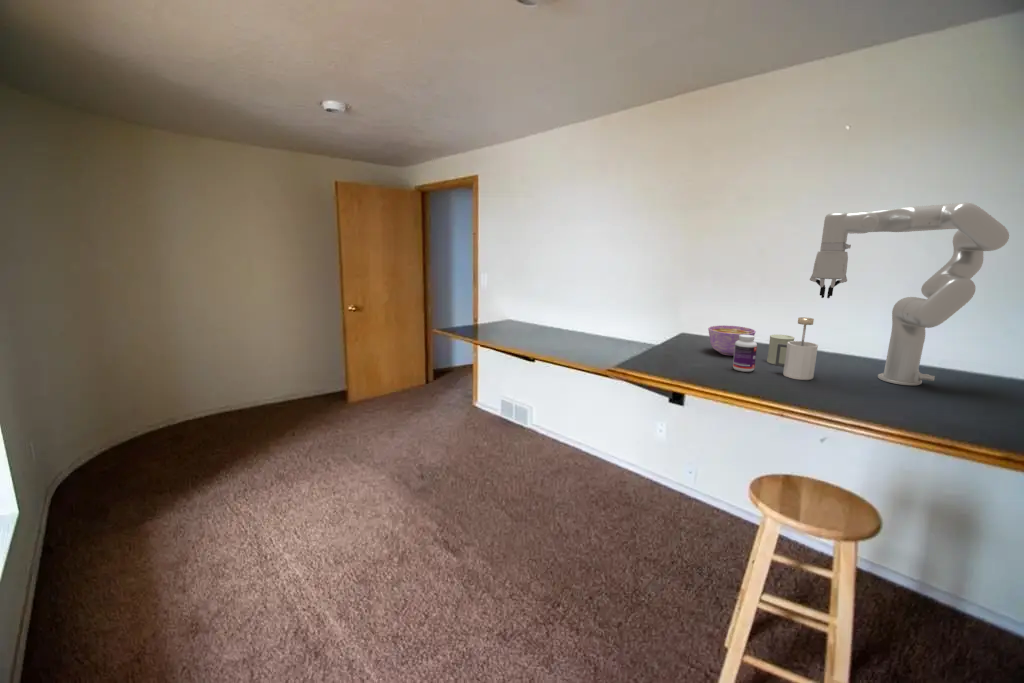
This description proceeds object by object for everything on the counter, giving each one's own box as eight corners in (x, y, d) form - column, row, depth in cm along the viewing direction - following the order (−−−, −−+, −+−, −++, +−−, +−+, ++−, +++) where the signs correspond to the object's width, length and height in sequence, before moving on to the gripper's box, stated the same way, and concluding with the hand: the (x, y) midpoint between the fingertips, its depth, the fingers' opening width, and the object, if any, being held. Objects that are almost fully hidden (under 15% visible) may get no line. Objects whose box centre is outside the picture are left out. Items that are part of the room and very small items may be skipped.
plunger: (813, 352, 174) (818, 318, 171) (811, 356, 169) (816, 320, 166) (791, 350, 178) (796, 316, 175) (789, 353, 173) (793, 318, 170)
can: (795, 365, 190) (799, 337, 188) (773, 365, 190) (777, 338, 188) (783, 359, 199) (786, 333, 197) (762, 359, 199) (765, 333, 197)
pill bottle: (755, 373, 180) (760, 338, 176) (733, 371, 182) (737, 337, 179) (752, 367, 187) (756, 334, 184) (731, 366, 190) (734, 333, 186)
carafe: (814, 375, 176) (819, 343, 174) (811, 381, 169) (816, 348, 166) (776, 369, 184) (780, 338, 181) (772, 375, 177) (776, 343, 174)
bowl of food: (697, 349, 218) (699, 326, 216) (734, 347, 222) (736, 324, 219) (723, 360, 199) (725, 334, 197) (763, 357, 203) (766, 332, 200)
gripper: (859, 247, 162) (851, 298, 166) (808, 247, 171) (802, 295, 175) (859, 248, 156) (850, 300, 160) (806, 248, 166) (800, 297, 170)
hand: (825, 297), depth 168 cm, fingers closed
